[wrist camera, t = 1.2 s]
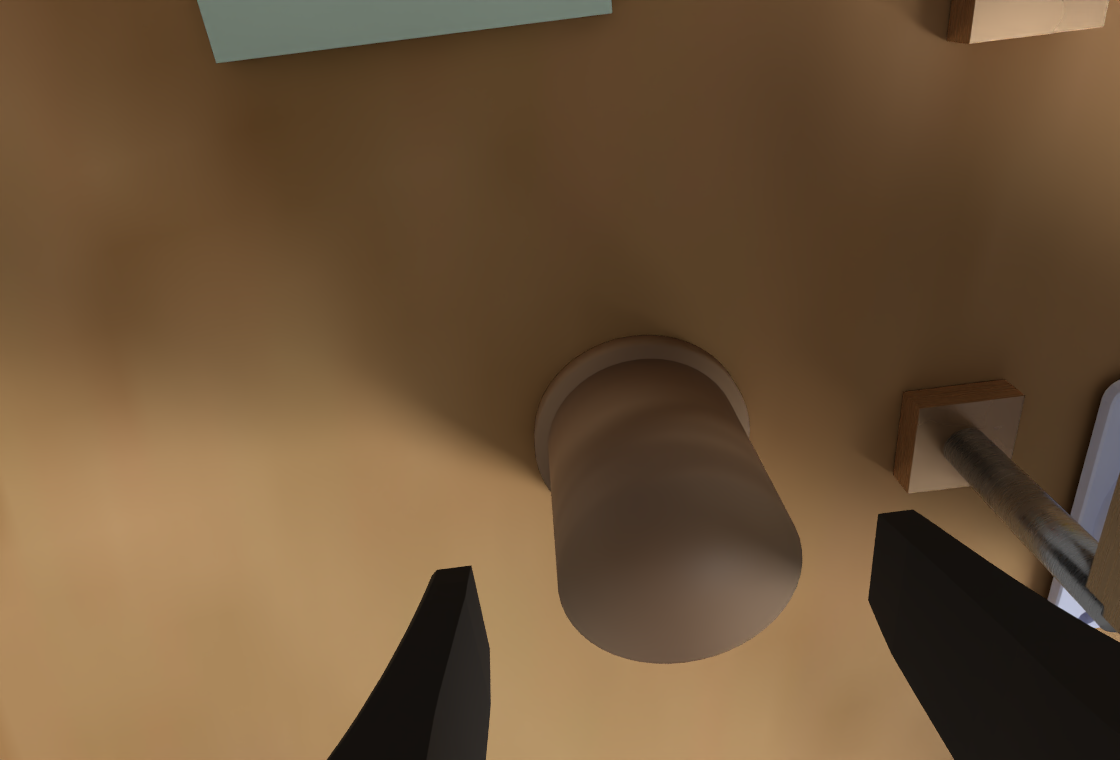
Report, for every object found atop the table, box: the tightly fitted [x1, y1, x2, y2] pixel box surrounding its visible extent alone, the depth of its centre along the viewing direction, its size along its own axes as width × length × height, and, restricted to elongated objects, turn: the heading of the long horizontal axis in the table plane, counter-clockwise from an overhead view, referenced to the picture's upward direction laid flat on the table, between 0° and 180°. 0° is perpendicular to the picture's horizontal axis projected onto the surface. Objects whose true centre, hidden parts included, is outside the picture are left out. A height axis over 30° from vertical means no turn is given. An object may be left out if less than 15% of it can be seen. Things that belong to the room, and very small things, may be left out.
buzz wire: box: [893, 0, 1120, 634], centre depth 11 cm, size 7×20×6 cm, turn 6°
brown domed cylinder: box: [534, 335, 802, 664], centre depth 15 cm, size 5×5×5 cm
